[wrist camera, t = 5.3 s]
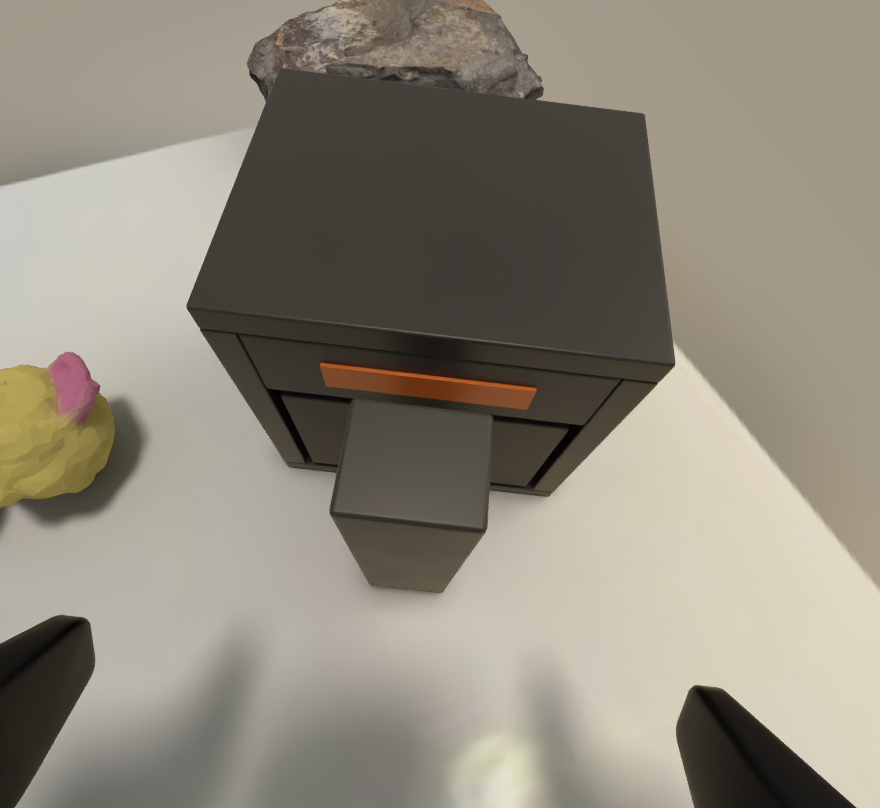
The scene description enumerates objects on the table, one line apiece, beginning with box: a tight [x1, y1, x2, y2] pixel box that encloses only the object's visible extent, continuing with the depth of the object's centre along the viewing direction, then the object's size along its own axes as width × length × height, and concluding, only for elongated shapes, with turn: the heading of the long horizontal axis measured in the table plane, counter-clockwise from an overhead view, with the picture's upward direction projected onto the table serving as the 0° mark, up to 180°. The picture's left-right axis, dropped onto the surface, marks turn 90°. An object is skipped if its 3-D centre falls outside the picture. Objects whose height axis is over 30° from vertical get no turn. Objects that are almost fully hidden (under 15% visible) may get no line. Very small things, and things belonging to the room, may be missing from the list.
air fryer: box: [187, 68, 675, 496], centre depth 16 cm, size 8×10×10 cm
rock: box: [247, 0, 544, 102], centre depth 26 cm, size 14×11×5 cm
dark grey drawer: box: [281, 390, 569, 593], centre depth 14 cm, size 11×8×10 cm
